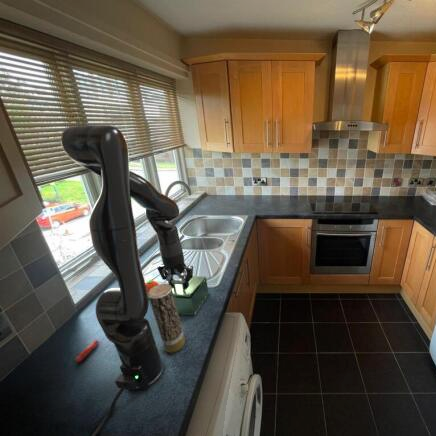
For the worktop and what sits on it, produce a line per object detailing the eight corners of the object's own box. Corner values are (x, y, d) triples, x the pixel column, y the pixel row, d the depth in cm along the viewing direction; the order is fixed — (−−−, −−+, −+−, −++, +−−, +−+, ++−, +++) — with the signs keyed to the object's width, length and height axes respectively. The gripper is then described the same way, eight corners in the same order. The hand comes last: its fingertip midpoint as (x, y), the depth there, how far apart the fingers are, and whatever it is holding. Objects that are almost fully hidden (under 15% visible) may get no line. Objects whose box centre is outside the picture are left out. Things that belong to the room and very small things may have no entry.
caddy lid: (189, 296, 94) (187, 283, 92) (164, 295, 95) (162, 281, 94) (206, 278, 108) (204, 266, 106) (184, 276, 109) (182, 264, 107)
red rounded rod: (80, 363, 80) (78, 359, 79) (75, 363, 80) (73, 359, 79) (100, 343, 87) (98, 339, 86) (95, 342, 87) (93, 338, 86)
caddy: (194, 315, 99) (191, 299, 96) (171, 313, 100) (166, 297, 97) (208, 293, 111) (206, 278, 108) (187, 292, 112) (184, 276, 109)
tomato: (147, 289, 114) (143, 277, 112) (163, 287, 116) (159, 275, 113) (142, 300, 107) (138, 288, 104) (158, 298, 109) (155, 285, 106)
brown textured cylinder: (179, 334, 90) (165, 280, 81) (188, 344, 86) (175, 289, 77) (161, 346, 86) (144, 291, 76) (170, 357, 82) (153, 300, 72)
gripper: (147, 255, 87) (157, 292, 94) (184, 257, 86) (191, 295, 92) (160, 245, 94) (168, 281, 101) (194, 247, 93) (200, 283, 99)
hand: (179, 287), depth 96 cm, fingers closed on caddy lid, 5 cm apart
